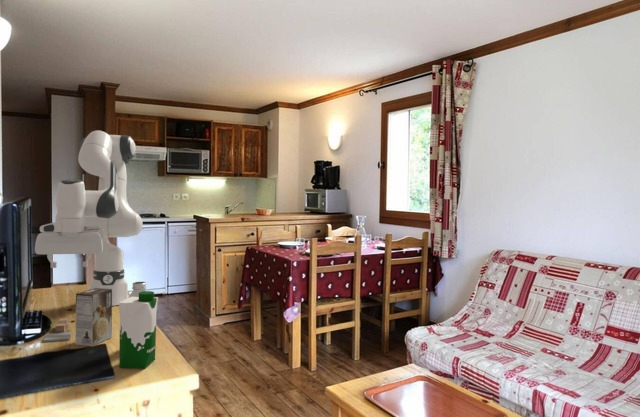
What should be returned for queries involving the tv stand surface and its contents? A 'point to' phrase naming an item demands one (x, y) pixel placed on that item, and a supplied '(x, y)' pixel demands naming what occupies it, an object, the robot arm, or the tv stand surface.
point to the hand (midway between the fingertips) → (69, 267)
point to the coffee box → (93, 316)
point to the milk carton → (138, 331)
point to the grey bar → (59, 332)
